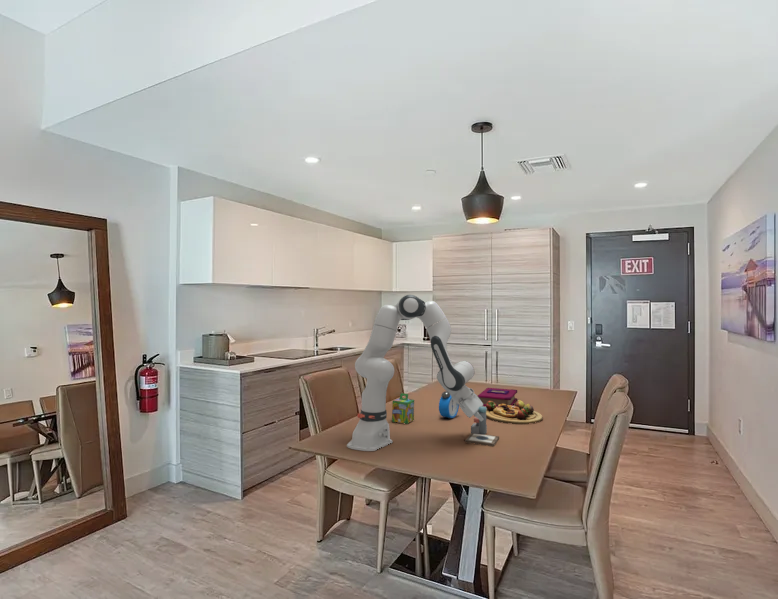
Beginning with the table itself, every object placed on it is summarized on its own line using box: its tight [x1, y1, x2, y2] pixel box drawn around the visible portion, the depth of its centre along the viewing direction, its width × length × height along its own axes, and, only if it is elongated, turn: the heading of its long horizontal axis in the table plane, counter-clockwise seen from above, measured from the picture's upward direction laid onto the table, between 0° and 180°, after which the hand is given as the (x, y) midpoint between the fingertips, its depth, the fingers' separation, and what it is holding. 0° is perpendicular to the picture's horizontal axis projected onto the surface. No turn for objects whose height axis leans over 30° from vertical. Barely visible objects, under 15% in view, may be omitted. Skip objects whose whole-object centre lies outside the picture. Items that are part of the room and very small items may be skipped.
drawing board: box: [464, 433, 500, 447], centre depth 216 cm, size 13×13×1 cm
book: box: [477, 387, 518, 407], centre depth 295 cm, size 21×28×8 cm
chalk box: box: [391, 392, 415, 425], centre depth 249 cm, size 9×9×15 cm
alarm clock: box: [438, 390, 460, 420], centre depth 258 cm, size 13×6×15 cm, turn 144°
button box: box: [470, 422, 488, 435], centre depth 227 cm, size 6×6×4 cm
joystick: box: [479, 406, 487, 435], centre depth 216 cm, size 3×3×12 cm
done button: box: [473, 416, 479, 426], centre depth 227 cm, size 4×4×4 cm
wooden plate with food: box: [486, 399, 544, 425], centre depth 260 cm, size 32×32×8 cm
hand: (483, 419), depth 216 cm, fingers closed on joystick, 3 cm apart
